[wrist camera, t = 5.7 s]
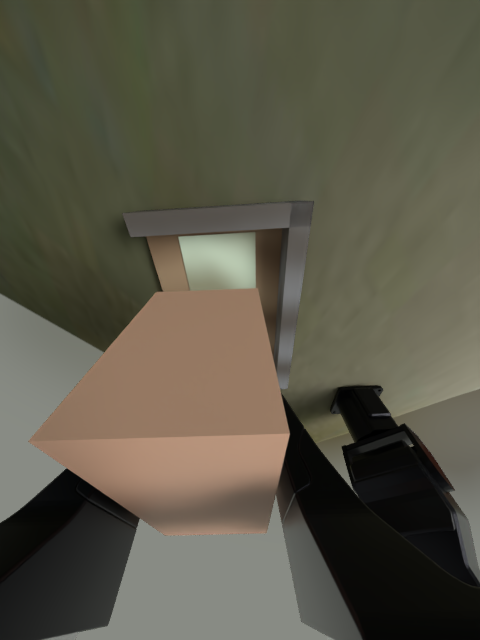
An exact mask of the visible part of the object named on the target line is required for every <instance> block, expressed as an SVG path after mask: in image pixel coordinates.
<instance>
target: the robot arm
mask: <svg viewBox="0 0 480 640" xmlns="http://www.w3.org/2000/svg"><path fill="white" fill-rule="evenodd" d="M382 391H383V388H382V387H381V386H369V387H345V388H339V389H338V391H337V394H336V396H335V399H334V401H333V404H332V407H331V409H330V411H331V413H332V414H341V415H342V417H343V420H344V422H345V424H346V426H347V428H348V430H349V432H350V434H351V436H352V438H353V440H354V443H352V444H349V445H347V446H346V445H344V446H342V450H343V455H344V459H345V463H346V466H347V470H348V473H349V477H350V480H351V484H352V487H353V490H354V491H353V490H352V489H351V488H350V486H349V485H348V484H347V483H346V481H345V480H344V479H343V478H342V477H341V475H340V474H339V473H338V472H337V470H336V469H335V468H334V467H333V466H332V464H331V463H330V462H329V461H328V459H327V458H326V457H325V456H324V454H323V453H322V452H321V450H320V449H319V448H318V446H317V445H316V444H315V442H314V441H313V439H312V438H311V437H310V435H309V434H308V432H307V431H306V429H304V426H303V425H302V423H301V422H300V420H299V419H298V417H297V416H296V414H295V413H294V411H293V410H292V408H291V407H290V405H289V404H288V402H287V401H286V399H285V398H284V396H283V395H282V393H281V396H282V400H283V405H284V409H285V414H286V418H287V423H288V427H289V432H290V435H289V439H288V444H287V448H286V452H285V457H284V461H283V465H282V470H281V474H280V478H279V482H278V487H277V491H276V496H277V502H278V506H279V512H280V517H281V522H282V524H283V525H282V527H283V532H284V537H285V542H286V547H287V552H288V557H289V562H290V568H291V572H292V578H293V582H294V588H295V593H296V598H297V603H298V608H299V613H300V618H301V622H302V623H304V624H306V625H308V626H310V627H312V628H314V629H315V630H317V631H319V632H321V633H323V634H325V635H326V636H327V640H480V570H479V567H478V563H477V558H476V553H475V548H474V543H473V538H472V534H471V529H470V524H469V521H468V519H467V517H466V516H465V514H464V513H463V512H462V510H461V508H460V507H459V506H458V504H457V503H456V502H455V500H454V498H453V497H452V496H451V494H450V493H449V492H452V491H455V489H454V488H453V486H452V484H451V483H450V481H449V480H448V478H447V477H446V475H445V474H444V472H443V471H442V469H441V467H440V466H439V464H438V463H437V461H436V460H435V458H434V457H433V455H432V454H431V452H430V451H429V450H428V449H427V447H426V446H425V445H424V444H423V442H422V441H421V440H420V439H419V437H418V436H417V435H416V434H415V433H414V432H413V431H412V430H411V429H410V428H409V427H408V426H407V425H406V424H405V423H404V424H402V425H401V426H399V427H398V425H397V424H396V422H395V421H394V419H393V418H392V417H391V413H390V412H389V411H388V409H387V408H386V406H385V405H384V404H383V402H382V401H381V399H380V398H379V396H380V394H381V393H382ZM410 444H413V445H414V446H413V447H409V445H410ZM355 493H357V495H358V496H357V495H356V494H355ZM139 519H140V518H139V517H137V516H136V515H134V514H133V513H132V512H130V511H129V510H127V509H126V508H124V507H123V506H121V505H120V504H118V503H117V502H115V501H114V500H113V499H111V498H110V497H108V496H107V495H105V494H104V493H102V492H101V491H99V490H98V489H97V488H95V487H94V486H92V485H91V484H89V483H88V482H86V481H85V480H83V479H82V478H81V477H79V476H78V475H76V474H75V473H73V472H72V471H70V470H69V469H65V470H64V471H63V472H62V473H61V474H60V475H59V476H57V477H56V478H55V479H54V480H53V481H52V482H51V483H50V484H48V485H47V486H46V487H45V488H44V489H43V490H42V491H41V492H40V493H38V494H37V495H36V496H35V497H34V498H33V499H32V500H30V501H29V502H28V503H27V504H26V505H25V506H23V507H22V508H21V509H20V510H18V511H17V512H16V513H14V514H13V515H11V516H10V517H9V518H7V519H6V520H4V521H2V522H1V523H0V640H76V637H77V635H78V632H82V631H86V630H91V629H96V628H100V627H105V626H108V624H109V621H110V617H111V614H112V611H113V608H114V604H115V601H116V597H117V594H118V591H119V587H120V583H121V581H122V577H123V574H124V570H125V567H126V563H127V560H128V557H129V553H130V550H131V547H132V543H133V540H134V536H135V533H136V528H137V526H138V522H139Z"/></svg>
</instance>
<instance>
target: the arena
mask: <svg viewBox="0 0 480 640" xmlns="http://www.w3.org/2000/svg"><path fill="white" fill-rule="evenodd" d="M313 205H314V201H289V202H273V203H257V204H242V205H226V206H210V207H194V208H179V209H163V210H147V211H137V212H129V213H122V214H123V217H124V220H125V223H126V226H127V228H128V231H129V234H130V237H142V236H146V238H147V242H148V245H149V248H150V251H151V254H152V258H153V261H154V264H155V267H156V271H157V274H158V277H159V280H160V283H161V287H162V290H163V292H171V291H197V290H223V289H249V288H258V292H259V296H260V301H261V305H262V310H263V315H264V319H265V324H266V328H267V333H268V337H269V342H270V346H271V351H272V355H273V360H274V364H275V369H276V373H277V378H278V382H279V387H280V389H287V388H288V381H289V374H290V367H291V360H292V353H293V346H294V339H295V332H296V325H297V318H298V311H299V304H300V297H301V290H302V283H303V275H304V268H305V261H306V254H307V247H308V240H309V233H310V226H311V219H312V212H313Z"/></svg>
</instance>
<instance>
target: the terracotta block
mask: <svg viewBox="0 0 480 640" xmlns="http://www.w3.org/2000/svg"><path fill="white" fill-rule="evenodd" d="M289 435H290V432H289V427H288V423H287V418H286V414H285V409H284V405H283V400H282V396H281V391H280V387H279V382H278V378H277V373H276V369H275V364H274V360H273V355H272V351H271V346H270V342H269V337H268V333H267V328H266V324H265V319H264V315H263V310H262V305H261V301H260V296H259V292H258V288H249V289H223V290H197V291H171V292H156V293H155V294H154V295H153V296H152V298H151V299H150V300H149V301H148V302H147V303H146V305H145V306H144V307H143V308H142V309H141V310H140V312H139V313H138V314H137V315H136V316H135V317H134V318H133V320H132V321H131V322H130V323H129V324H128V325H127V327H126V328H125V329H124V330H123V331H122V332H121V334H120V335H119V336H118V337H117V338H116V339H115V341H114V342H113V343H112V344H111V345H110V346H109V348H108V349H107V350H106V351H105V352H104V353H103V355H102V356H101V357H100V358H99V359H98V361H97V362H96V363H95V364H94V365H93V366H92V367H91V369H90V370H89V371H88V372H87V373H86V374H85V376H84V377H83V378H82V379H81V380H80V381H79V383H78V384H77V385H76V386H75V387H74V389H73V390H72V391H71V392H70V393H69V394H68V395H67V397H66V398H65V399H64V400H63V401H62V402H61V404H60V405H59V406H58V407H57V408H56V409H55V411H54V412H53V413H52V414H51V415H50V417H49V418H48V419H47V420H46V421H45V422H44V423H43V425H42V426H41V427H40V428H39V429H38V430H37V432H36V433H35V434H34V435H33V436H32V438H31V439H30V440H29V441H28V442H30V443H31V444H33V445H34V446H35V447H37V448H39V449H40V450H41V451H43V452H44V453H46V454H47V455H49V456H50V457H52V458H53V459H55V460H56V461H57V462H59V463H60V464H62V465H63V466H65V467H66V468H67V469H69V470H70V471H72V472H73V473H75V474H76V475H78V476H79V477H81V478H82V479H83V480H85V481H86V482H88V483H89V484H91V485H92V486H94V487H95V488H97V489H98V490H99V491H101V492H102V493H104V494H105V495H107V496H108V497H110V498H111V499H113V500H114V501H115V502H117V503H118V504H120V505H121V506H123V507H124V508H126V509H127V510H129V511H130V512H132V513H133V514H134V515H136V516H137V517H139V518H140V519H142V520H143V521H145V522H146V523H148V524H149V525H150V526H152V527H153V528H155V529H156V530H158V531H159V532H161V533H162V534H164V535H165V536H168V535H210V534H211V535H213V534H254V533H267V529H268V525H269V521H270V517H271V512H272V508H273V503H274V500H275V495H276V491H277V487H278V482H279V478H280V474H281V470H282V465H283V461H284V457H285V452H286V448H287V444H288V439H289Z"/></svg>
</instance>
